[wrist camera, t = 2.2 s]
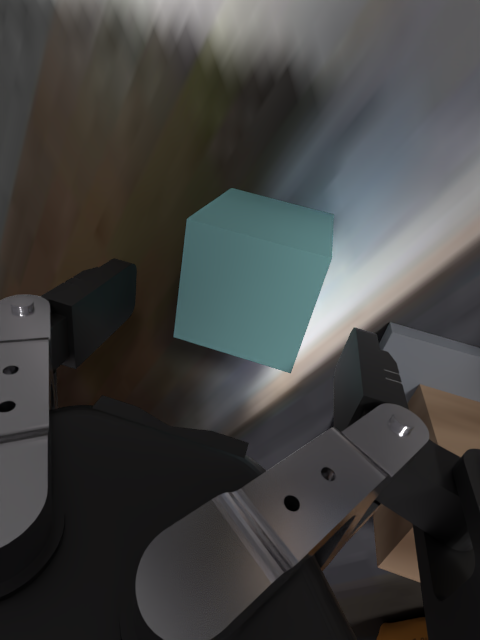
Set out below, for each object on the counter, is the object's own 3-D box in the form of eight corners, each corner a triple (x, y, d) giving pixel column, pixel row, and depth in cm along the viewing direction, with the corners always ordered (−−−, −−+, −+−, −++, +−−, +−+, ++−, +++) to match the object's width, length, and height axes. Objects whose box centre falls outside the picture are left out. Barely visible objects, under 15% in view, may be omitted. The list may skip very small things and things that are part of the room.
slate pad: (389, 322, 18) (392, 332, 18) (635, 392, 17) (650, 406, 16) (318, 463, 25) (317, 475, 24) (494, 521, 24) (500, 536, 23)
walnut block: (419, 384, 19) (450, 484, 14) (558, 426, 18) (644, 547, 13) (368, 465, 22) (377, 567, 17) (481, 502, 22) (525, 620, 17)
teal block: (231, 187, 17) (187, 218, 12) (333, 214, 17) (332, 258, 11) (215, 280, 20) (173, 337, 15) (303, 305, 19) (290, 373, 14)
